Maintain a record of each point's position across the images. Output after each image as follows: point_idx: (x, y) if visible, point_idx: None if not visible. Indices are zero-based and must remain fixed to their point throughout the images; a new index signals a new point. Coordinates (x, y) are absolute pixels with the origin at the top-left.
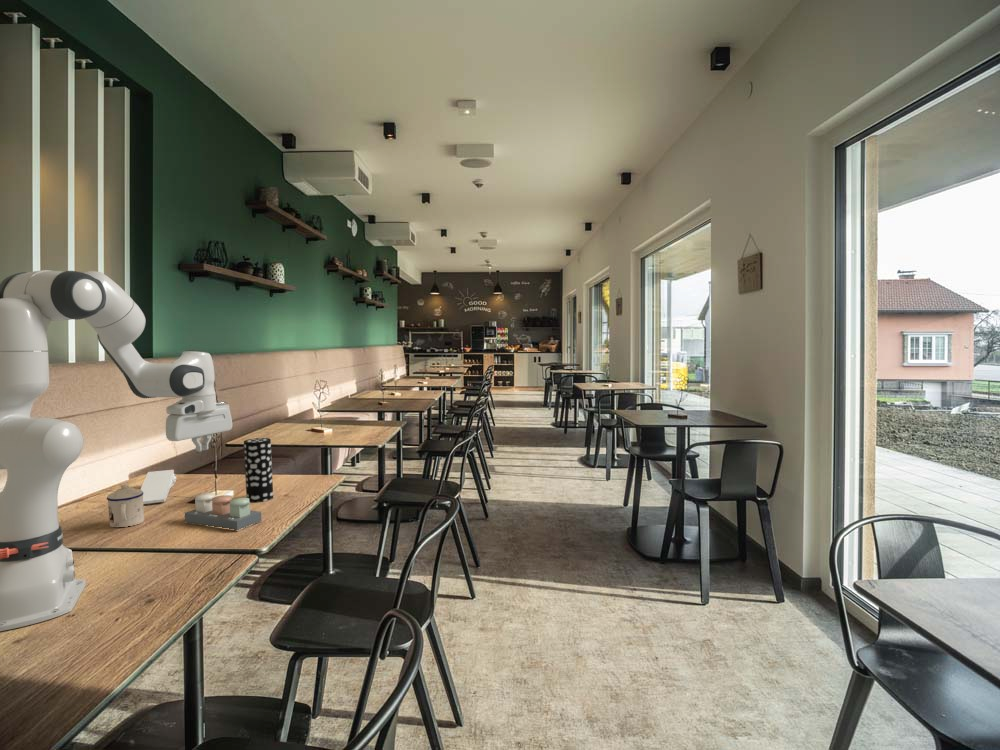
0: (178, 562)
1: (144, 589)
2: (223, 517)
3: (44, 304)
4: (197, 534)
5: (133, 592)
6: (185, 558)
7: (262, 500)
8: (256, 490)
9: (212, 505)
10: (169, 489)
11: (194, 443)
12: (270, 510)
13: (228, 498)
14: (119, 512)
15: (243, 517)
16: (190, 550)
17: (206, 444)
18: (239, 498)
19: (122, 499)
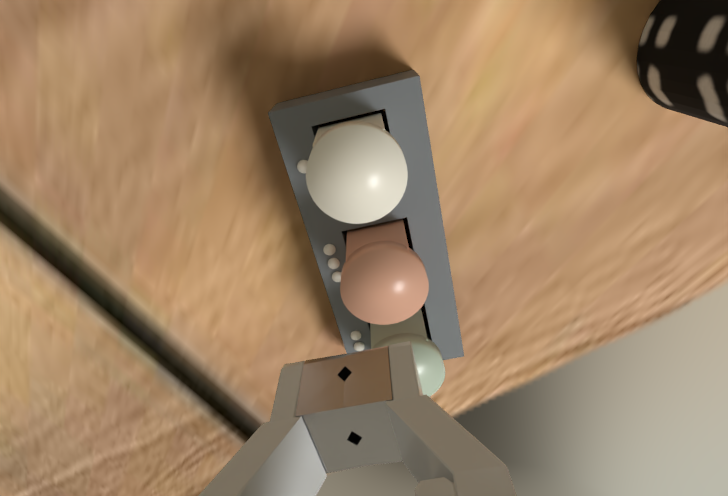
0: (146, 419)
1: (57, 481)
2: (347, 311)
3: None
4: (257, 277)
5: (36, 478)
6: (166, 411)
7: (666, 108)
8: (687, 104)
9: (346, 253)
10: None
11: (239, 466)
12: (566, 251)
13: (395, 321)
14: None
15: None
16: (193, 377)
17: (404, 459)
18: (422, 354)
19: None
